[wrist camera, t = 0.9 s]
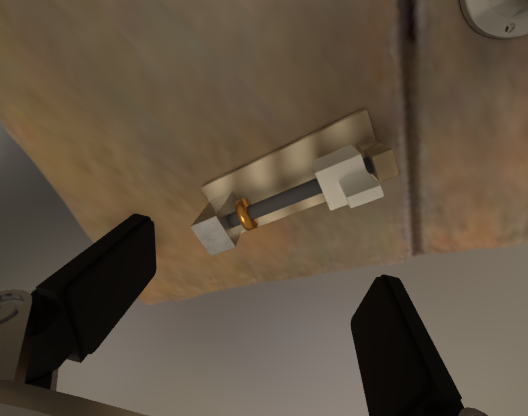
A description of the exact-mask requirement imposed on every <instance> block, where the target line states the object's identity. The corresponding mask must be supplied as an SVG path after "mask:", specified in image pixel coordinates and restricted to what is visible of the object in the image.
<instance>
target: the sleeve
mask: <svg viewBox="0 0 528 416" xmlns="http://www.w3.org/2000/svg"><path fill="white" fill-rule="evenodd" d="M312 164H313V168H314V172H315V175H316V177H317V180H318V182H319V184H320V187H321V189H322V192H323V194H324V196H325V199H326V201H327V203H328V206H329V208H330V211H331V210H334V209H336V208H339V207H342V206H345V205H347V204H349V206H350V208H353V207H356V206H359V205H362V204H364V203H367V202H370V201H373V200H376V199H379V198H381V197H384V195H383V192H382V189H381V186H380V184H379V183H378V182H377V181H376V180H375V179H374V178H373V177H372V176H371V175H370V174H369V173H368V171H367V170H366V168H365V165H364V162H363V159H362V156H361V154H360V153H359V152H358V151H357V150H356V149H355V148H354V147H353V146H352V145H351V144H350V145H348V146H346V147H343V148H341V149H339V150H337V151H334V152H332V153H330V154H327V155H325V156H323V157H321V158H318V159H316V160H314V161H312Z"/></svg>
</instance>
